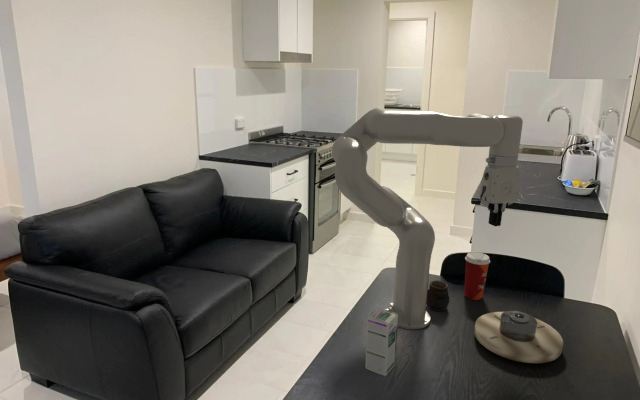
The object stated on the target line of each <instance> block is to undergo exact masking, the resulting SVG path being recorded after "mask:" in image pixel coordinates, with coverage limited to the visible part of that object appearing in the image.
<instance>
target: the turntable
mask: <svg viewBox="0 0 640 400" xmlns="http://www.w3.org/2000/svg"><path fill="white" fill-rule="evenodd" d="M503 312H504V311H494V312H489V313H488V312H487V313H485V314H482V315H480V316H479V317H478V318H477V319H476V321H475V323H474V324H475V325H474V336H475V338H476V340H477V341H478V342H479V344H481V345H482V346H483V347H484V348H486V349H487V350H488V351H490V352H492V353H493V354H496V355H497V356H500V357H502V358H504V359H505V358H506V359H507V360H511V361H514V362H515V361H516V362H520V363H525V364H526V363H527V364H544V363H545V364H546V363H549V362H552V361H555V360H556V359H558V358H559V357H560V356H561V354H562V351H563V347H564V339H563V337H562V336H561V334H560V332H558V330H556V329H555V328H553V326H551V325H550V324H548V323H546V322H544V321H542V320H541V319H538V318H536V317H534V318H535V319H536V321H537V328H536V334H535V338H534V339H533V340H532V341H528V342H520V341H515V340H512V339H509V338H507V337H505V336H504V335H502V334H501V332H500V331H499V327H500V320H501V314H502V313H503Z"/></svg>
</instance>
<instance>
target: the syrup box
mask: <svg viewBox="0 0 640 400" xmlns="http://www.w3.org/2000/svg"><path fill="white" fill-rule="evenodd" d="M386 309H387V308H382V307H381V308H380V307H377V308H376V309H375V310H374V311H372V312H371V314H369V315H368V316H367V317H366V318H367V319H366V335H365V336H366V337H365V341H366V342H365V364H364V365H365V367H364V368H365V369H366V370H368V371H369V372H370V371H371V372H373V373H376V374H378V375H381V376H384V377H387V376H388V374H389V373H390V372H391V371H392V370H393V368H394V367H395V366H396V359H397V358H396V356H397V342H398V326H397V325H398V314H397V313H395V312H392V311H389V310H386Z"/></svg>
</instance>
